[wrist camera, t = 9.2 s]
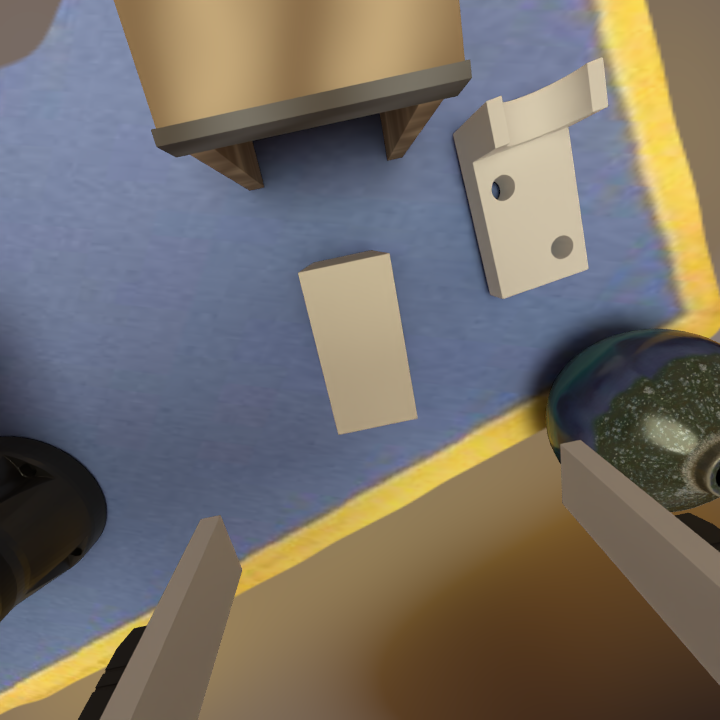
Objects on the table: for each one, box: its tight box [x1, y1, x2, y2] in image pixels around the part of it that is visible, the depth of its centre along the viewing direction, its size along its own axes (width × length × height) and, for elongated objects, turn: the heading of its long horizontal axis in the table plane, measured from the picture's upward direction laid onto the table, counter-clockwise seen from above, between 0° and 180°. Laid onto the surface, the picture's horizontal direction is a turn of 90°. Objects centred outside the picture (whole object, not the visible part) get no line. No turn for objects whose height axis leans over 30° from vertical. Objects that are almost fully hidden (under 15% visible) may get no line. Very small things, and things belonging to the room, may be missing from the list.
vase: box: [546, 329, 720, 512], centre depth 30 cm, size 15×15×13 cm
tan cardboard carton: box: [298, 250, 417, 435], centre depth 27 cm, size 5×10×12 cm, turn 11°
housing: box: [114, 0, 472, 190], centre depth 20 cm, size 13×10×16 cm
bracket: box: [453, 57, 608, 299], centre depth 27 cm, size 13×7×8 cm, turn 19°
